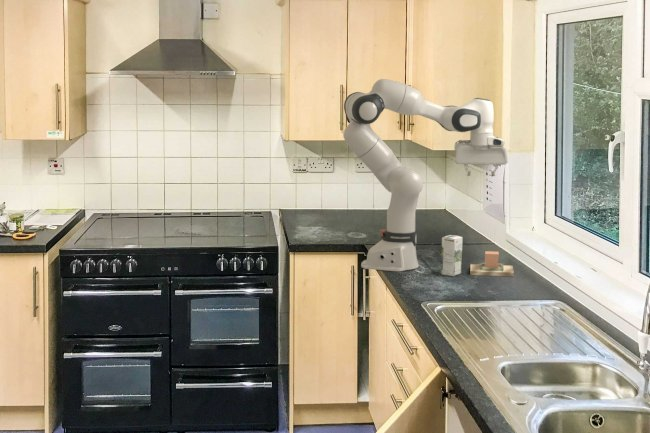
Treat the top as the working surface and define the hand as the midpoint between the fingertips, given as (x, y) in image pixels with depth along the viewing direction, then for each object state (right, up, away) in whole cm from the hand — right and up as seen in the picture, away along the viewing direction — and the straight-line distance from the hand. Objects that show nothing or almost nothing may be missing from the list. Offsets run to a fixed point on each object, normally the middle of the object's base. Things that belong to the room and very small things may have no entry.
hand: (480, 175), depth 343 cm
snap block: (+2, -36, -9) cm, 37 cm away
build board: (+3, -37, -9) cm, 38 cm away
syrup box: (-13, -38, -12) cm, 42 cm away
